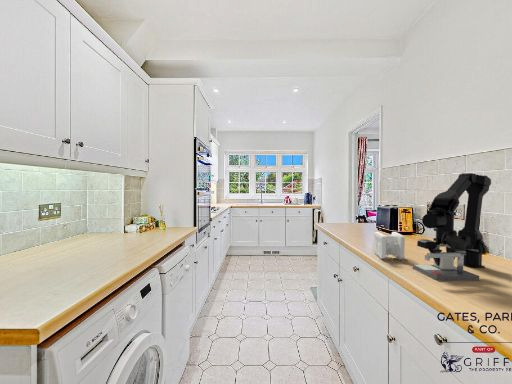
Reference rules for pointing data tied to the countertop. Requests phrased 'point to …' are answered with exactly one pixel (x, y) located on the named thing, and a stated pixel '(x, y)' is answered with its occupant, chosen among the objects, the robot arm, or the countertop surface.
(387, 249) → the cable organizer
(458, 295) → the countertop surface
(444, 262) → the light grey block
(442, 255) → the grey bracket
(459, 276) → the grey flat panel
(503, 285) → the countertop surface
